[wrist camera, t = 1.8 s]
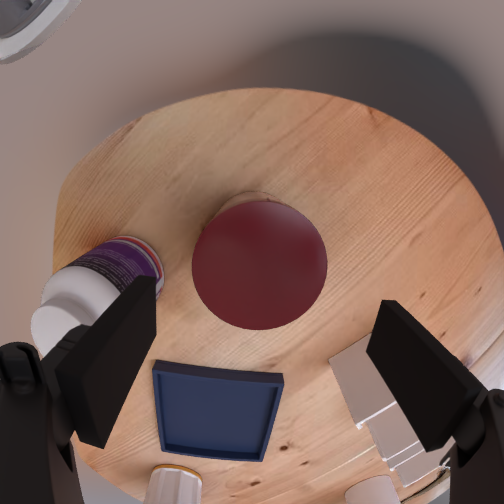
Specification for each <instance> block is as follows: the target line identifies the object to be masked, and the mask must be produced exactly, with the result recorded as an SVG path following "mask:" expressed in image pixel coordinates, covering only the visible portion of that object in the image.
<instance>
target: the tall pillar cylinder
mask: <svg viewBox="0 0 504 504" xmlns="http://www.w3.org/2000/svg"><path fill="white" fill-rule="evenodd" d="M345 498H346V501H347V504H401V503H400V500H399V498H398V495H397V493H396V491H395V488H394V486H393V483H392V481H391V479H390V477H389V476H387V475H381V476H376V477H372V478H369V479H366V480H364V481H361V482H359V483H357V484H355V485H354V486H352V487H351V488H349V489H348V490H347V491H346V493H345Z"/></svg>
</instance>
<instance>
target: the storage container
mask: <svg viewBox="0 0 504 504" xmlns="http://www.w3.org/2000/svg"><path fill="white" fill-rule="evenodd" d="M371 334H372V332H371V333H370V334H368V335H367V336H365V337H364V338H362V339H360V340H359V341H357V342H356V343H354V344H353V345H351V346H349V347H348V348H346V349H344V350H343V351H341V352H340V353H338V354H336V355H334V356H333V357H331V358H329V359H328V361H329V363H330V365H331V368H332V370H333V372H334V375H335V377H336V379H337V382H338V384H339V386H340V389H341V391H342V394H343V396H344V398H345V401H346V403H347V405H348V408H349V410H350V413H351V415H352V418H353V420H354V422H355V425H356V426H357V427H358V429H361V428H363V427H362V425H361V424H362V423H364V422H366V424H367V426H368V428H369V431H370V433H371V435H372V437H373V440H374V442H375V444H376V447H377V449H378V451H379V453H380V456H381V458H382V460H383V461H384V462H385V461H386V462H387V464H388V466H389V469H390V470H391V471H393V470H394V468H395V469H396V471H397V473H398V476H399V478H400V480H401V482H402V485H403V487H404V488H405V487H407V486H408V485H410V484H412V483H414V482H416V481H417V480H419V479H421V478H422V477H424V476H426V475H427V474H429V473H431V472H432V471H434V470H435V469H437V468H438V467H440V466H439V463H440V460H441V459H442V458H443V457H444V456H445V454H446V453H447V452H448V451H449V449H450V448H451V447H452V446H453V444H454V443H455V442H456V441H455V440H454V438H453V437H452V436H451V437H450V439H449V440H448V441H447V443H446V444H445V445H444V447H443V448H441V449H438V450H434V451H431V452H428V453H426V451H425V449H424V448H423V446H422V444H421V442H420V441H419V439H418V437H417V435H416V434H415V432H414V430H413V428H412V427H411V425H410V423H409V422H408V420H407V418H406V416H405V415H404V413H403V411H402V410H401V408H400V406H399V405H398V403H397V401H396V400H395V398H394V396H393V395H392V393H391V391H390V390H389V388H388V387H387V385H386V383H385V382H384V380H383V378H382V377H381V375H380V374H379V372H378V370H377V369H376V367H375V366H374V364H373V362H372V361H371V359H370V358H369V356H368V354H367V353H366V349H367V346H368V343H369V340H370V337H371ZM449 460H450V458H448V459H447V460H446V461H445V462H444V463H443V464H445V463H446V462H447V461H449Z"/></svg>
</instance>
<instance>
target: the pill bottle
mask: <svg viewBox="0 0 504 504" xmlns="http://www.w3.org/2000/svg"><path fill="white" fill-rule="evenodd" d="M138 275H146V276H153V277H156V301H157V299H158V298H159V296H160V294H161V292H162V289H163V285H164V271H163V267H162V264H161V261H160V259H159V257H158V255H157V254H156V253H155V251H154V250H153V249H152V248H151V247H150V246H149V245H148V244H146V243H145V242H143V241H142V240H140V239H138V238H135V237H131V236H118V237H114V238H111V239H109V240H107V241H105V242H104V243H102V244H101V245H99V246H97V247H96V248H94V249H92V250H91V251H89V252H87V253H86V254H84V255H83V256H81V257H79V258H78V259H76V260H75V261H73V262H71V263H70V264H68V265H67V266H65V267H63V268H62V269H60V270H59V271H57V272H56V273H55V274H54V275H52V276H51V278H50V279H49V280H48V281H47V283H46V285H45V287H44V289H43V292H42V297H41V306H40V307H39V308H38V309H37V310H36V311H35V312H34V314H33V316H32V319H31V332H32V336H33V339H34V342H35V344H36V346H37V348H38V349H39V351H40V353H41V354H42V355H43V357H45V356H46V355H47V353H48V352H49V351H50V350H51V349H52V348H53V347H55V346H56V344H57V343H58V342H59V341H60V340H62V337H63V336H64V335H65V334H66V333H67V332H68V331H69V330H71V329H73V328H74V327H76V326H78V325H80V324H84V325H88V326H92V325H93V323H94V322H95V321H96V320H97V319H98V318H99V317H100V316H101V315H102V313H103V312H104V311H105V310H106V309H107V308H108V307H109V306H110V305H111V304H112V303H113V301H114V300H115V299H116V298H117V297H118V296H119V295H120V294H121V293H122V292H123V291H124V290H125V289H126V288H127V287H128V285H129V284H130V283H131V282H132V281H133V280H134V279H135V278H136V277H137V276H138Z"/></svg>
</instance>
